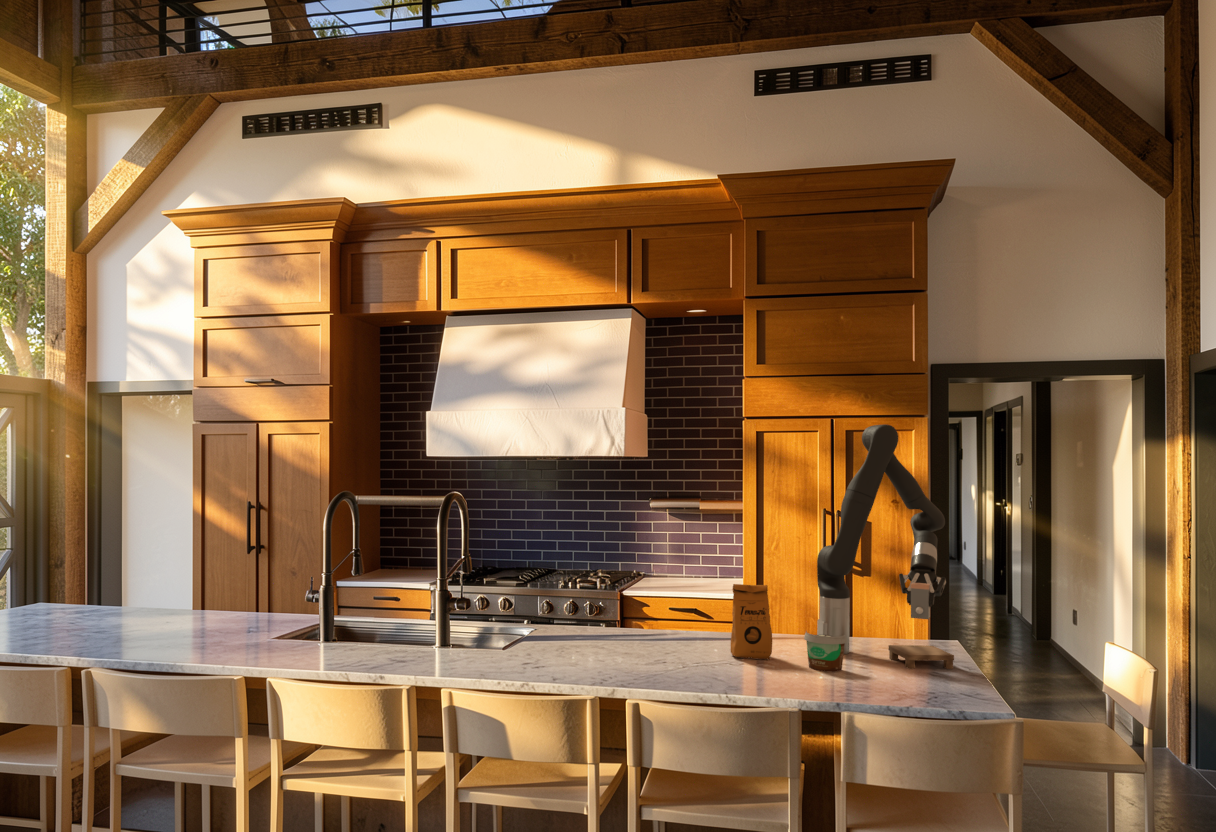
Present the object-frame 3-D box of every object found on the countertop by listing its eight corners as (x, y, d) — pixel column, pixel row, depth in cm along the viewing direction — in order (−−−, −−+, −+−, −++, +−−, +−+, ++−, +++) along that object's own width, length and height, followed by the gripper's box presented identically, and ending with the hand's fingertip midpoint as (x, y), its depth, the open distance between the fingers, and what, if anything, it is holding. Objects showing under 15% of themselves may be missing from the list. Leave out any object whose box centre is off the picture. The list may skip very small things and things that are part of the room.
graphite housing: (910, 618, 257) (910, 584, 257) (912, 615, 262) (912, 582, 263) (928, 620, 255) (928, 585, 255) (930, 617, 260) (930, 583, 261)
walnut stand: (907, 668, 251) (907, 654, 251) (888, 658, 265) (888, 645, 265) (954, 669, 252) (954, 655, 252) (932, 658, 266) (932, 645, 266)
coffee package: (772, 661, 256) (773, 587, 257) (730, 659, 257) (731, 585, 259) (770, 654, 265) (771, 583, 267) (730, 652, 267) (731, 581, 268)
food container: (798, 669, 247) (799, 633, 247) (804, 665, 252) (804, 630, 253) (842, 674, 241) (842, 638, 242) (846, 670, 247) (847, 635, 247)
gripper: (898, 551, 270) (893, 594, 258) (947, 554, 264) (944, 598, 252) (901, 566, 275) (896, 610, 263) (949, 569, 268) (946, 614, 257)
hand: (919, 604), depth 258 cm, fingers closed on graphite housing, 5 cm apart
